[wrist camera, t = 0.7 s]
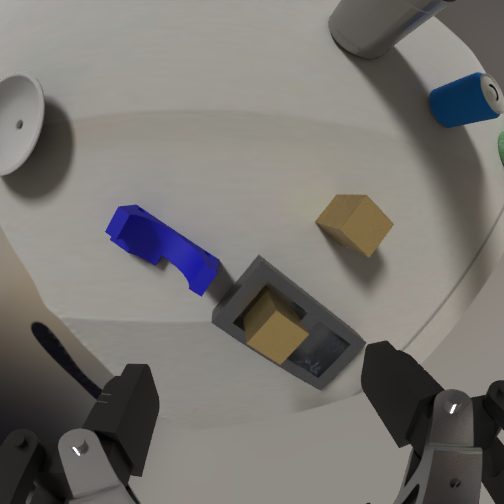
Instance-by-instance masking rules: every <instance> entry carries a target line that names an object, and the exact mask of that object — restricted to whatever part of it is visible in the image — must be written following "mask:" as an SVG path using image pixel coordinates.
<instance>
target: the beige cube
mask: <svg viewBox="0 0 504 504" xmlns="http://www.w3.org/2000/svg"><path fill="white" fill-rule="evenodd" d="M242 314H243V321H244V328H245V336H246V343H247V344H248V345H250V346H251V347H253V348H254V349H256V350H257V351H259V352H260V353H262V354H264V355H265V356H267V357H268V358H270V359H272V360H273V361H275V362H276V363H278V364H280V365H281V364H282V363H283V362H284V361H285V360H286V358H287V357H288V356H289V355H290V354H291V353H292V352H293V351H294V350H295V349H296V348H297V347H298V346H299V345H300V344H301V343H302V342H303V341H304V339H305V338H306V337H307V336H308V335H309V333H308V331H307V329H306V328H305V326H304V324H303V323H302V321H301V319H300V318H299V316H298V314H297V313H296V311H295V309H294V307H293V306H292V305H291V304H290V303H289V302H287V301H286V300H285V299H283V298H282V297H281V296H279V295H278V294H277V293H275V292H274V291H273V290H271V289H270V288H269V287H267V286H266V285H265V286H264V287H263V288H262V289H261V290H260V292H259V293H258V294H257V295H256V296H255V297H254V299H253V300H252V301H251V302H250V303H249V304H248V306H247V307H246V308H245V309H244V310H243V311H242Z"/></svg>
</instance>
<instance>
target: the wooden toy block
mask: <svg viewBox="0 0 504 504" xmlns="http://www.w3.org/2000/svg"><path fill="white" fill-rule="evenodd" d="M315 223H317V224H318V225H319V226H320V227H321V228H322V229H323V230H324V231H325V232H327V233H328V234H329V235H330V236H331V237H332V238H333V239H334V240H335V241H336V242H338V243H339V244H340V245H342V246H344V247H346V248H349V249H351V250H353V251H355V252H357V253H360V254H362V255H364V256H366V257H368V258H369V257H370V256H371V255H372V253H373V252H374V251H375V249H376V248H377V247H378V245H379V244H380V243H381V241H382V240H383V239H384V237H385V236H386V234H387V233H388V232H389V230H390V229H391V228H392V226H393V225H394V224H393V223H392V222H391V221H390V219H389V218H388V217H387V216H386V215H385V214H384V213H383V212H382V211H381V210H380V209H379V207H378V206H377V205H376V204H375V203H374V202H373V201H372V200H371V199H370V198H369V197H368V196H367V195H336V196H335V197H334V199H333V200H332V201H331V202H330V204H329V205H328V206H327V207H326V209H325V210H324V211H323V212H322V214H321V215H320V216H319V217H318V219H317V220H316V221H315Z"/></svg>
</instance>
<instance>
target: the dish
mask: <svg viewBox="0 0 504 504" xmlns="http://www.w3.org/2000/svg"><path fill="white" fill-rule="evenodd" d="M44 113H45V99H44V93H43V90H42V87H41V85H40V83H39V81H38V80H37V79H36V77H35V76H33V75H32V74H30V73H28V72H24V71H16V72H12V73H10V74H7V75H6V76H4V77H2V78H1V79H0V176H4V175H8V174H10V173H12V172H14V171H16V170H17V169H18V168H19V167H21V166H22V165H23V164H24V163H25V161H26V160H27V159H28V157H29V156H30V154H31V153H32V151H33V149H34V148H35V145H36V143H37V141H38V139H39V136H40V133H41V129H42V126H43V121H44ZM22 123H23V126H22V128H21V124H22Z"/></svg>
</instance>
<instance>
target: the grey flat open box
mask: <svg viewBox="0 0 504 504" xmlns="http://www.w3.org/2000/svg"><path fill="white" fill-rule="evenodd" d="M265 285H266V286H267V287H269V288H270V289H271V290H273V291H274V292H275V293H277V294H278V295H279V296H281V297H282V298H283V299H285V300H286V301H287V302H289V303H290V304H291V305H292V306H293V307H294V309H295V311H296V313H297V314H298V316H299V318H300V319H301V321H302V323H303V324H304V326H305V328H306V329H307V331H308V333H309V335H308V336H307V337H306V338H305V339H304V341H303V342H302V343H301V344H300V345H299V346H298V347H297V348H296V349H295V350H294V351H293V352H292V353H291V354H290V355H289V356H288V357H287V358H286V360H285V361H284V362H283V363H282V364H281V365H280V364H278V363H276V362H275V361H273V360H272V359H270V358H268V357H267V356H265V355H264V354H262V353H260V352H259V351H257V350H256V349H254V348H253V347H251V346H250V345H248V344H247V343H246V336H245V328H244V321H243V314H242V311H243V310H244V309H245V308H246V307H247V306H248V304H249V303H250V302H251V301H252V300H253V299H254V297H255V296H256V295H257V294H258V293H259V292H260V290H261V289H262V288H263V287H264V286H265ZM212 323H213V324H214V325H216V326H217V327H219V328H220V329H222V330H223V331H225V332H226V333H228V334H229V335H231V336H232V337H234V338H235V339H237V340H238V341H240V342H241V343H243V344H244V345H246V346H247V347H249V348H250V349H252V350H254V351H255V352H257V353H258V354H260V355H262V356H263V357H265V358H266V359H268V360H270V361H271V362H273V363H274V364H276V365H278V366H279V367H281V368H283V369H284V370H286V371H288V372H289V373H291V374H293V375H294V376H296V377H298V378H300V379H301V380H303V381H305V382H307V383H308V384H310V385H312V386H314V387H315V388H317V389H319V390H321V389H322V388H324V387H325V386H326V385H327V384H328V383H329V382H330V381H331V380H332V379H333V378H334V377H335V376H336V375H337V374H338V373H339V372H340V371H341V370H342V369H343V368H344V367H345V366H346V365H347V363H348V362H349V361H350V360H351V359H352V358H353V357H354V356H355V355H356V354H357V353H358V352H359V351H360V350H361V348H362V347H363V346H364V345H365V344H366V342H365V341H364V340H363V339H362V338H361V336H360V335H359V334H358V333H357V332H356V331H355V330H353V329H352V328H351V327H350V326H348V325H347V324H346V323H345V322H343V321H342V320H341V319H339V318H338V317H337V316H336V315H334V314H333V313H332V312H331V311H329V310H328V309H327V308H326V307H324V306H323V305H322V304H321V303H319V302H318V301H317V300H315V299H314V298H313V297H312V296H310V295H309V294H308V293H307V292H305V291H304V290H303V289H302V288H300V287H299V286H298V285H297V284H295V283H294V282H293V281H291V280H290V279H289V278H288V277H286V276H285V275H284V274H283V273H281V272H280V271H279V270H278V269H276V268H275V267H274V266H272V265H271V264H270V263H269V262H267V261H266V260H265V259H264V258H262V257H261V256H260V255H258V256H257V258H256V259H255V260H254V261H253V262H252V264H251V265H250V266H249V267H248V269H247V270H246V271H245V272H244V273H243V275H242V276H241V277H240V278H239V279H238V281H237V282H236V283H235V284H234V286H233V287H232V288H231V289H230V290H229V292H228V293H227V294H226V295H225V296H224V298H223V299H222V300H221V301H220V303H219V304H218V305H217V306H216V307H215V309H214V310H213V313H212Z"/></svg>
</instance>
